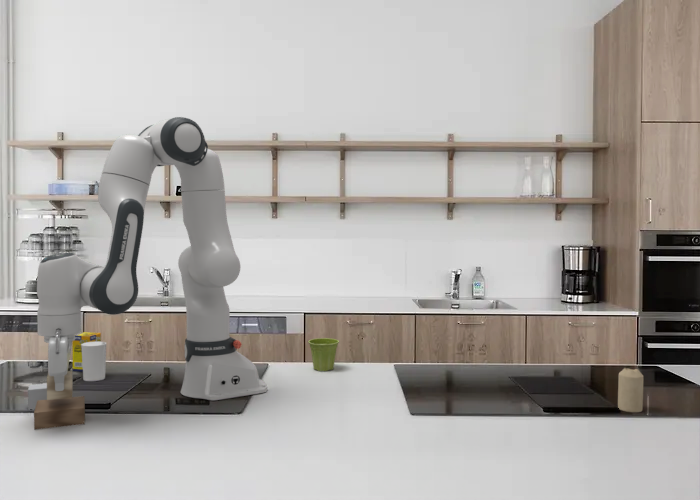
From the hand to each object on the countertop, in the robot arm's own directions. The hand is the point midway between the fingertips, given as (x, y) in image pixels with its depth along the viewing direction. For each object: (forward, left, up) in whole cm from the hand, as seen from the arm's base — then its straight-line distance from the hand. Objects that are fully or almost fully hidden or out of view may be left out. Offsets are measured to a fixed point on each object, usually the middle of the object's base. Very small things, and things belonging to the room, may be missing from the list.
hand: (60, 386), depth 141 cm
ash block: (0, 0, -2) cm, 2 cm away
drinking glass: (-7, -37, -8) cm, 38 cm away
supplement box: (-5, -49, -8) cm, 50 cm away
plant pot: (-72, -25, -8) cm, 77 cm away
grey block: (+5, -13, -8) cm, 16 cm away
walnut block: (0, 0, -8) cm, 8 cm away
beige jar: (-128, +40, -8) cm, 134 cm away
